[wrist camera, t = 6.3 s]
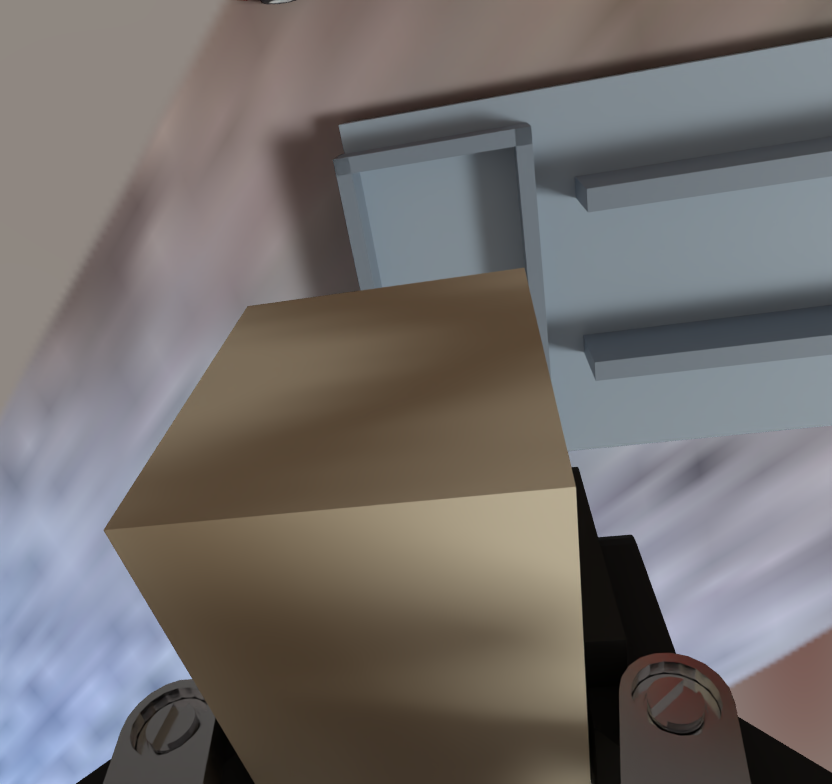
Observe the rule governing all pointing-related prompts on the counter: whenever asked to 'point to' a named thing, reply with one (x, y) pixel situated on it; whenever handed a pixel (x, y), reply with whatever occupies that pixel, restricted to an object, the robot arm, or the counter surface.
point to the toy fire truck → (275, 1)
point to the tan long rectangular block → (374, 541)
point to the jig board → (630, 234)
